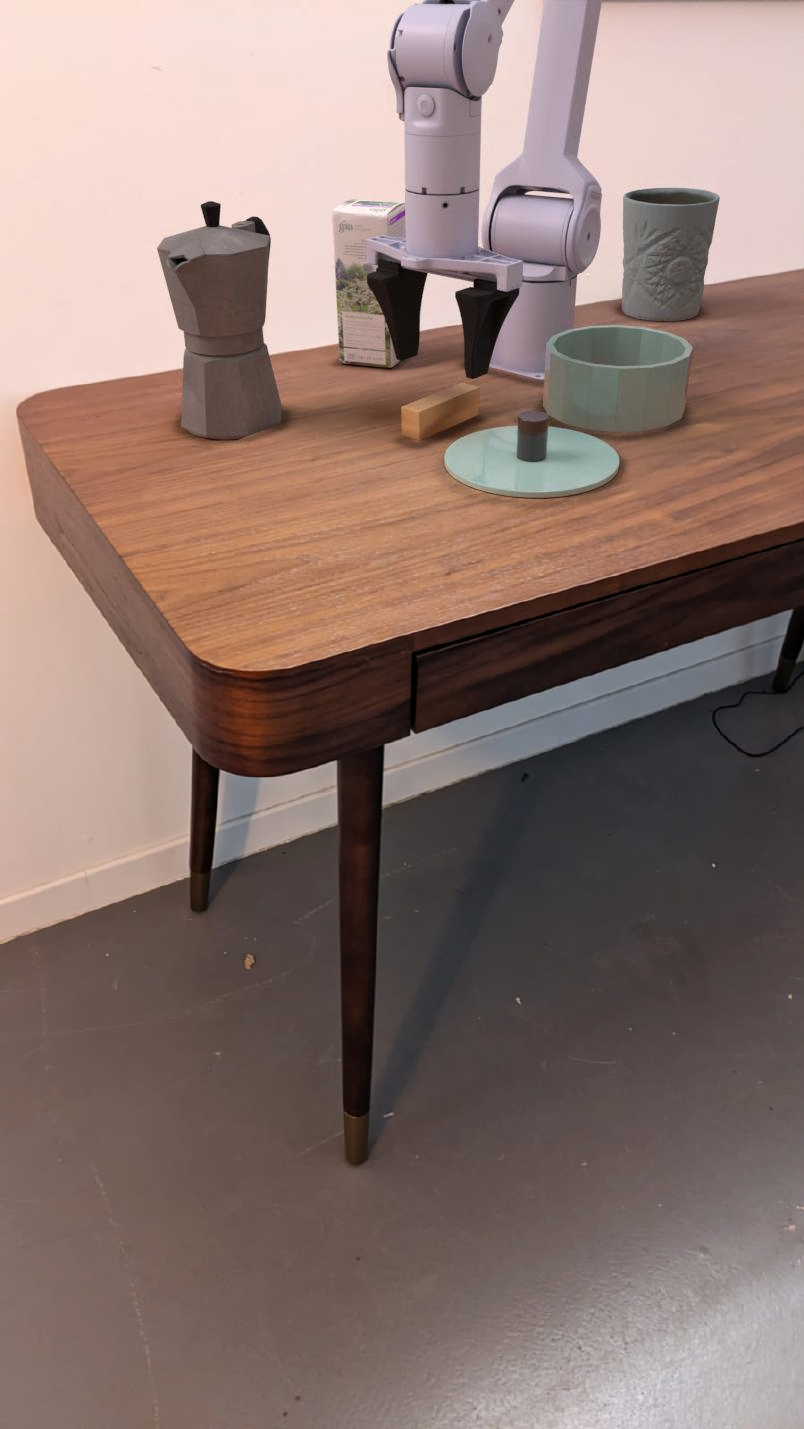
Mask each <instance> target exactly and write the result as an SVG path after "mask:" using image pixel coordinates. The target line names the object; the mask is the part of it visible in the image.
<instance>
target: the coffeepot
mask: <svg viewBox="0 0 804 1429" xmlns="http://www.w3.org/2000/svg"><path fill="white" fill-rule="evenodd" d="M221 206H222V203H219V202H216V201H213V200H209V201H206V202H203V203H201V204H200V210H201V213H202V216H203V220H204V224H205V225H204V226H201V227H198V228H194V229H190V230H187V231H183V232H179V233H177V234H173V235H170V236H167V237H163V239H162V240H161V241H160V243H159V244H158V245H157V247H156V250H157V253H158V258H159V261H160V265H161V269H162V273H163V276H164V280H165V284H166V288H167V291H168V295H169V298H170V302H171V307H172V309H173V313H174V317H175V320H176V324H177V328H178V329H179V331H182V332H183V338H184V347H185V348H184V352H183V364H182V367H183V368H182V389H181V390H182V392H181V395H182V396H181V415H180V416H181V418H180V419H181V420H180V427H181V428H183V429H184V430H185V431H187V432H188V433H190V434H191V435H193V436H196V437H200V438H204V439H210V440H224V441H225V440H240V439H241V440H242V439H243V438H244V439H245V438H247V437H249V436H252V435H254V434H257V433H259V432H262V431H265V430H267V429H271V428H273V427H275V426H278V425H281V423H282V416H283V405H282V402H281V397H280V394H279V390H278V385H277V382H276V377H275V372H274V369H273V364H272V360H271V357H270V353H269V349H268V348H269V347H268V345H267V344H266V343H265V338H264V328H263V327H264V326H265V323H266V318H267V300H268V299H267V297H268V282H269V279H268V278H269V264H270V253H271V245H272V244H271V242H272V241H271V240H272V238H271V233H270V231H269V229H268V228H267V226H266V224H265V223H264V221H263V220H262V219H261V218H260V217H259V216H250V217H248V218H247V219H245V220H238V221H237V222H234V223H233V224H231V227H230V226H226V225H221V224H220V220H221V208H222V207H221Z"/></svg>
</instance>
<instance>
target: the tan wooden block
mask: <svg viewBox="0 0 804 1429" xmlns="http://www.w3.org/2000/svg"><path fill="white" fill-rule="evenodd" d="M480 390H481V388H480V386H477V385H473V384H469V383H467V382H466V383H465V382H459V383H456V384H454V385H452V386H449V387H447V388H444V389H442V390H439V391H437V392H434V393H432V394H430V395H427V396H425V397H422V398H420V399H417V400H414V401H411V402H409V403H407V404H405V405H402V406H401V408H400V409H401V436H404V437H406V438H410V439H412V440H416V441H422V440H425V439H426V438H429V437H431V436H433V435H435V434H438V433H440V432H443V431H445V430H447V429H449V428H451V427H454V426H456V425H458V424H460V423H463V422H465V421H467V420H468V421H469V420H470V419H471V418H475V417H478V416H479V415H480Z"/></svg>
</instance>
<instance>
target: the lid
mask: <svg viewBox="0 0 804 1429" xmlns="http://www.w3.org/2000/svg"><path fill="white" fill-rule="evenodd" d="M549 425H550V415H548V414H547V413H546V412H544V411H539V410H525V411H522V412H520V413H518V415H517V425H507V426H498V427H497V426H496V427H492V428H491V427H490V428H487V429H486V428H485V429H482V430H478V431H474V432H472V433H471V432H470V433H469V434H466V435H464V436H462V437H460V438H458V439H456V440H455V441H453V442H452V443H451V444H450V445H448V447H447V448H446V450H445V451H444V455H443V462H444V467H445V469H446V471H447V472H448V474H449V475H450V476H451V477H452V478H453V479H455V480H457V481H458V482H459V483H461V484H463V485H465V486H468V487H470V488H473V489H475V490H478V491H482V492H486V493H488V494H494V495H497V496H505V497H512V498H513V497H514V498H523V499H525V498H526V499H527V498H529V499H543V498H544V499H549V498H560V497H567V496H573V495H578V494H584V493H587V492H590V491H592V490H596V489H598V488H600V487H603V486H604V485H606V484H607V483H609V482H610V481H611V480H613V479H614V478H615V477H616V475H617V474H618V472H619V469H620V456H619V454H618V451H616V450H615V448H613V446H611V445H610V444H609V443H607V442H606V441H604V440H602V439H600V438H598V437H596V436H593V435H591V434H589V433H585V432H582V431H578V430H573V429H569V428H562V427H557V426H549Z"/></svg>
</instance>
